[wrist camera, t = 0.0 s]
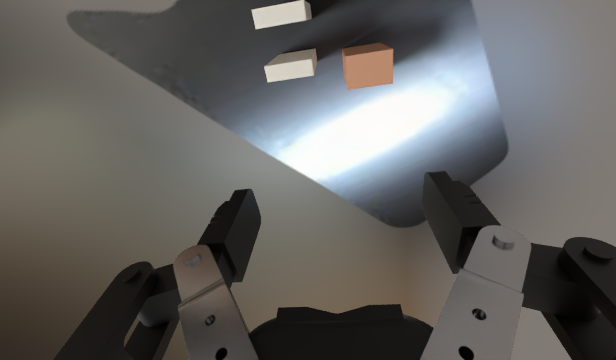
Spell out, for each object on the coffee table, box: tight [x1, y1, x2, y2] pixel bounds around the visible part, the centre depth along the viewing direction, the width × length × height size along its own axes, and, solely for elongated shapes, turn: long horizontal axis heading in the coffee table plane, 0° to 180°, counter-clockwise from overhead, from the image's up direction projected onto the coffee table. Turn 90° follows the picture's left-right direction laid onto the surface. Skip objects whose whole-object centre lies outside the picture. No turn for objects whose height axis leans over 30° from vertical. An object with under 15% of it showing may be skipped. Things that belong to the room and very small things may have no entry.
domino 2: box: [264, 48, 317, 82], centre depth 31 cm, size 2×5×10 cm, turn 99°
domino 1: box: [252, 0, 312, 29], centre depth 29 cm, size 2×5×10 cm, turn 99°
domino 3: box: [342, 42, 393, 90], centre depth 32 cm, size 4×5×8 cm
